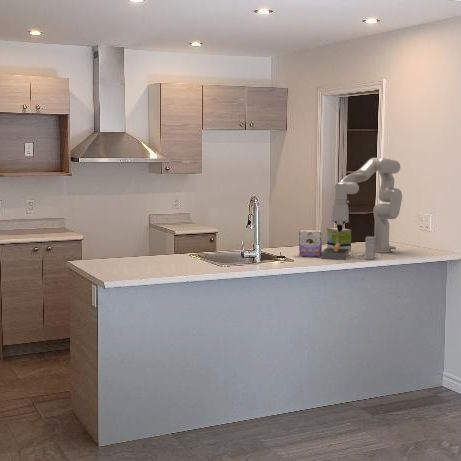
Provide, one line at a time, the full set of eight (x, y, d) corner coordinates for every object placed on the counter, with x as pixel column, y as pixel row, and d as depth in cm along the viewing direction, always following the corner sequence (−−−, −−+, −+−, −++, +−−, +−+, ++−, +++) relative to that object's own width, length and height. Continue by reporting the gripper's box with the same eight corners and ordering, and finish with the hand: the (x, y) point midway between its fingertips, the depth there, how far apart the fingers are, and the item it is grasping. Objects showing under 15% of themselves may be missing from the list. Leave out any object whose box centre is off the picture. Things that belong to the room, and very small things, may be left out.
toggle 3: (340, 248, 466) (340, 243, 465) (339, 249, 463) (339, 244, 462) (336, 248, 466) (336, 243, 466) (335, 248, 463) (335, 244, 463)
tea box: (326, 249, 494) (326, 227, 492) (338, 248, 498) (339, 227, 496) (338, 252, 480) (339, 230, 478) (351, 251, 484) (351, 229, 483)
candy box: (322, 256, 464) (322, 230, 462) (320, 257, 458) (320, 231, 456) (300, 255, 468) (300, 229, 466) (299, 256, 462) (299, 230, 460)
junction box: (374, 256, 460) (375, 236, 458) (373, 259, 448) (374, 239, 446) (366, 256, 461) (366, 236, 460) (364, 259, 449) (365, 238, 448)
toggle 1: (339, 249, 460) (339, 244, 460) (338, 250, 457) (338, 245, 457) (335, 249, 461) (335, 244, 461) (334, 250, 458) (334, 245, 458)
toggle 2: (338, 250, 455) (338, 245, 455) (337, 251, 452) (337, 246, 452) (334, 250, 456) (334, 245, 455) (333, 251, 453) (333, 246, 452)
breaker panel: (348, 255, 468) (348, 248, 467) (345, 259, 448) (345, 252, 448) (325, 254, 471) (325, 247, 471) (321, 258, 452) (321, 252, 452)
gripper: (353, 202, 457) (352, 231, 459) (329, 201, 461) (328, 230, 462) (352, 203, 450) (351, 232, 452) (327, 202, 453) (327, 231, 455)
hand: (339, 231), depth 457 cm, fingers closed
